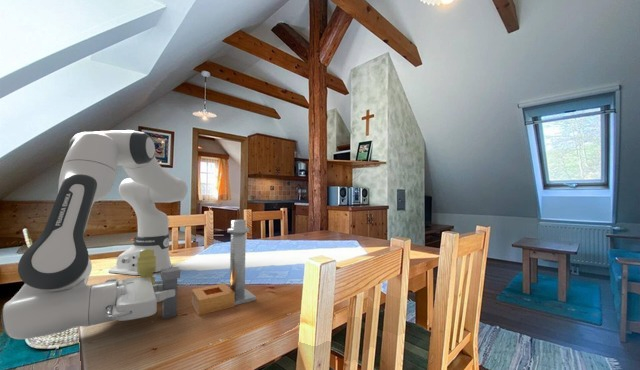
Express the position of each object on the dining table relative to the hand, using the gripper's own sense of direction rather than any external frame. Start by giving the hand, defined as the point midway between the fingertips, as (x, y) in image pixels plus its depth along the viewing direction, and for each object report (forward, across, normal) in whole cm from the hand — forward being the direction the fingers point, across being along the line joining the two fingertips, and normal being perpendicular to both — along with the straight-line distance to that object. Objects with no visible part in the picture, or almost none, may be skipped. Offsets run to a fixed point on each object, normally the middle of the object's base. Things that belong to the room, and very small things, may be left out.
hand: (173, 289), depth 70 cm
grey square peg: (-1, 0, +7) cm, 7 cm away
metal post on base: (+13, 0, +7) cm, 15 cm away
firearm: (-5, +23, +7) cm, 24 cm away
